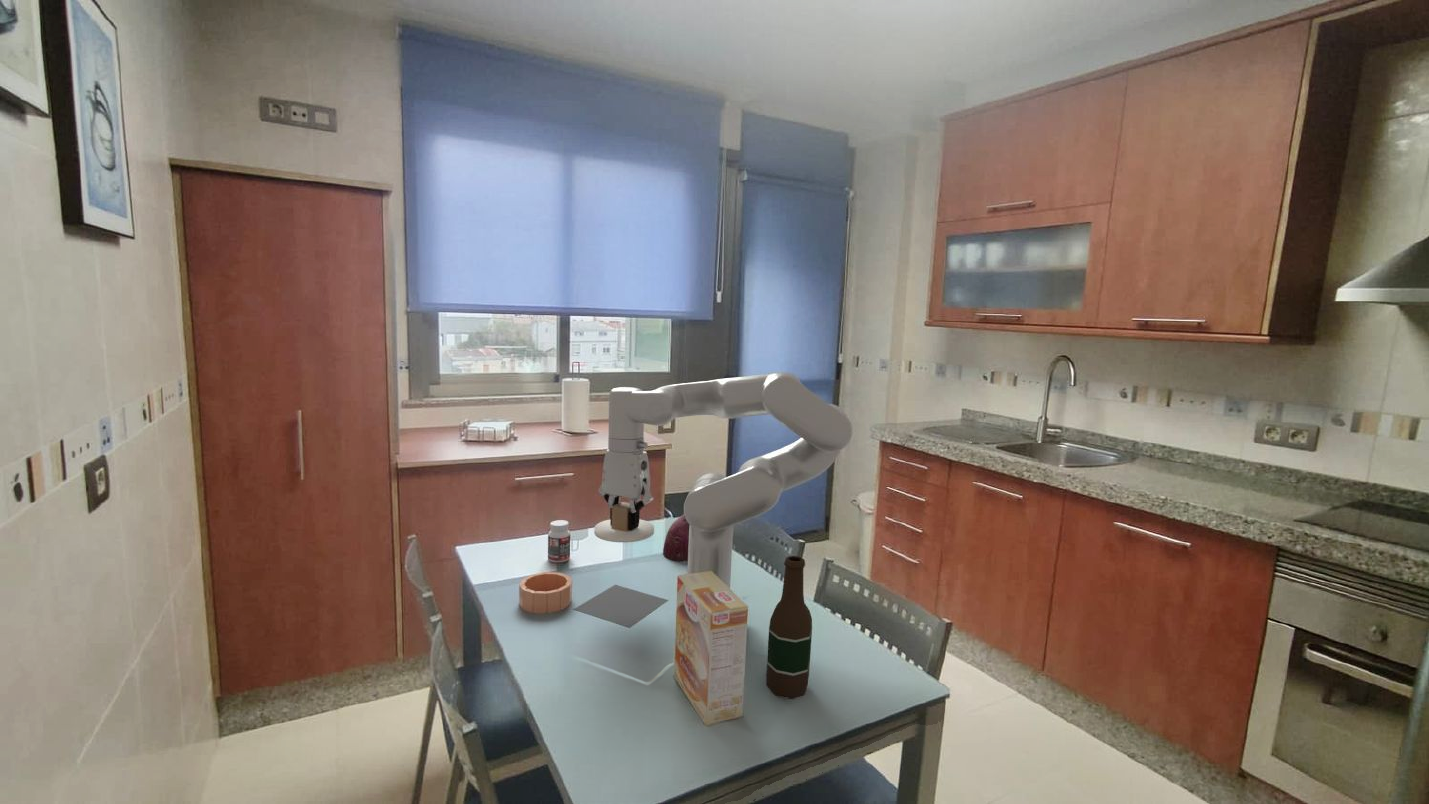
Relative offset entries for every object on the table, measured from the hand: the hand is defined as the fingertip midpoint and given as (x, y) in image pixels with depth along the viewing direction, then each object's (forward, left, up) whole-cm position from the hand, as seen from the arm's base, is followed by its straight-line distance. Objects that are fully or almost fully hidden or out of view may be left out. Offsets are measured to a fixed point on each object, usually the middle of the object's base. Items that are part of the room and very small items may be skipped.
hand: (624, 525), depth 136 cm
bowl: (+15, +8, -19) cm, 25 cm away
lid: (0, 0, -1) cm, 1 cm away
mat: (0, 0, -19) cm, 19 cm away
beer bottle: (-43, +9, -19) cm, 48 cm away
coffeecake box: (-32, +19, -19) cm, 42 cm away
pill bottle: (+30, -13, -19) cm, 38 cm away
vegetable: (+5, -34, -19) cm, 39 cm away
